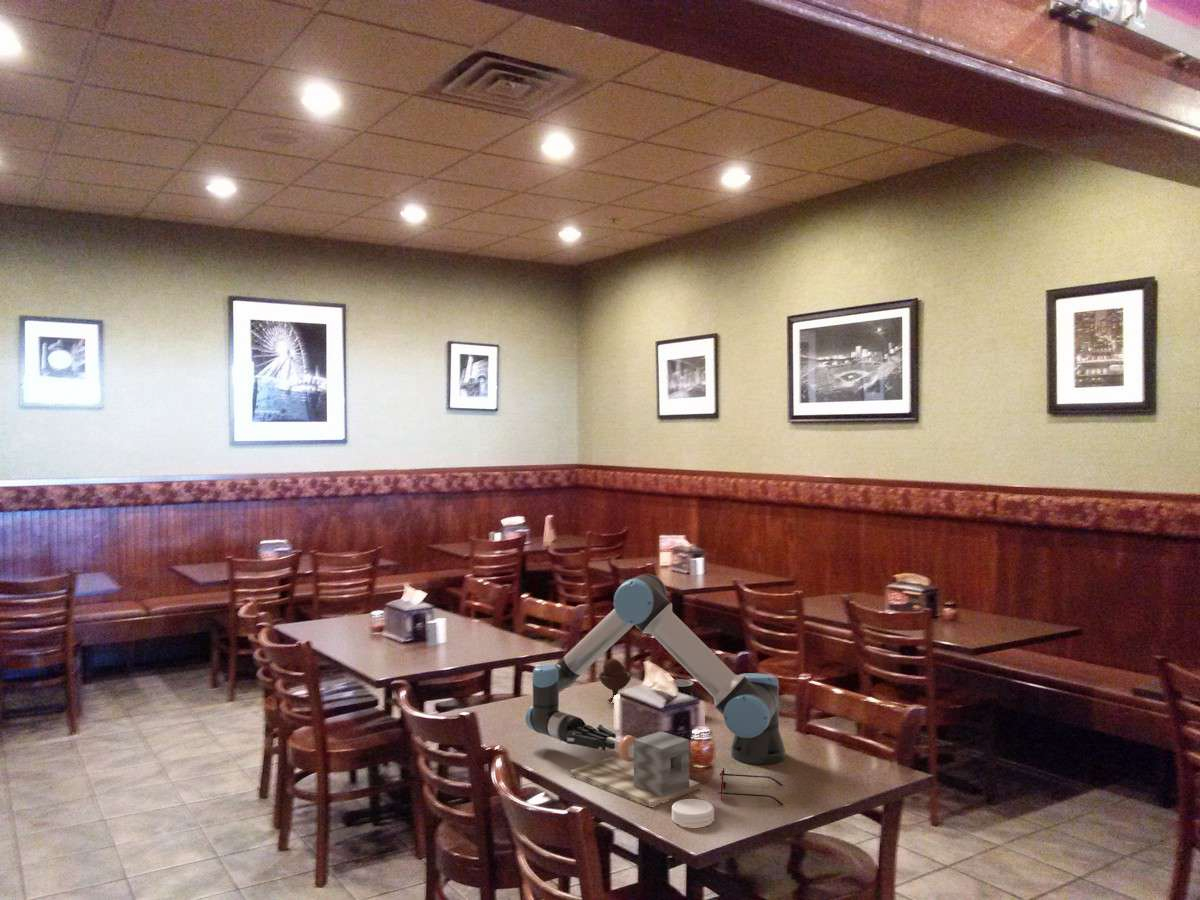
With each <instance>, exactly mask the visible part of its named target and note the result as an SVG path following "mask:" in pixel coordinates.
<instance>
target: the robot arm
mask: <svg viewBox="0 0 1200 900" xmlns="http://www.w3.org/2000/svg"><path fill="white" fill-rule="evenodd" d="M667 593H668V592H667V589H666V585H665V584H664V582H663V581H662V579H660V578H659V577H658V576H656V575H655V574H650V573H642V574H639V575H636V576H635V577H633V578H631V579H627V580H625V581H624V582H623V583H622V584H621V585H619V587H618V588H617V590H616V591H615V593H614V596H613V607H614V608H613V609H612V610H611V611H610V612H609V613H608V614H607V615H606V616H605V617H604V618H603V619H602V620H601V621H599V623H598V624H597V625H596V626H594V627H593V628H592V629H591V630H590V631H589V632H588V633H587V634H586V635H585V636H584V637H583V638H582V639H581V640H580V641H579V642H577V644H575V646H573V647H572V648H571V649H570V650H569V651H568V652H567V653H566V654H565V655H564V656H563V657H562V658H561V659H559V660H558V662H557V663H556V664H555V665H552V664H541V665H537V666H535V667H533V669H532V670H533V671H532V678H531V682H532V705H530V707H529V708H528V709H527V711H526V714H525V717H524V719H525V724H526V726H527V727H528V728H529V729H530V730H532V731H534V732H535V733H538V734H542V735H544V736H548V737H551V738H554V739H556V740H559V742H564V743H566V744H568V745H576V746H581V747H585V748H591V749H595V750H598V749H600V748H601V751H603V752H604V751H606V749H608V750H611V751H613V752H617V753H618V746H619V743H620V741H621V739H618V738H617V737H616V733H614V732H613V731H611V730H610V729H607V728H606V727H604V726H603V725H602V724H598V725H597V727H593V726H592V725H588V724H586V723H585V721H584V719H583V718H581V717H578V716H576V715H572V714H570V713H568V712H567V713H566V712H563V711H560V710H559V703H560V701H559V700H560V699H559V698H560V697H559V695H560V693H562V692H563V691H564V690H565V689H567V688H568V687H571V686H572V685H573V684H574V683H575V682H576V681H577V680H578V679H579V677H580V676H581V675H582V674H583V673H585V671H586V670H588V669H589V668H590V667H591V666H592V665H593V664H594V663H595V662H597V661H598V659H600V658H601V656H602V655H604V654H605V653H606V652H607V651H609V649H610V648H611V647H612V646H613V645H614V644H616V643H617V642H618V641H619V639H621V638H622V637H623V636H624V635H625V634H626V633H627V632H628V631H629V630H631V629H632V627H634V626H635V628H637V629H638V630H639V631H640V632H641V633H642V634H646V635H647V634H649V635H651V636H652V637H653V638H654V639H656V641H658V643H659V644H660V645H661V646H662V647H663V648H664V649H665V650H666V651H667V652H668V653H669V654H670V655H671V656H672V657H673V658H674V659H675V660H676V661H677V662H678V663H679V664H680V666H682V667H683V669H684V670H686V671H687V672H688V673H689V674H690V675H691V676H692V677H693V679H695V680H696V681H697V683H699V685H700V686H702V687H703V689H705V690H706V692H708V693H709V695H710V696H711V697H712V698H713V707H714V708H715V709H716V710H717V711H718V712H719V713H720V714H721V715H722V716H723V720H724V723H725V726H726V727H727V728H728V730H729V731H730V732H731V733H732V734H734V737H733V740H732V743H731V747H730V749H731V750H730V752H731V753H730V755H731V757H732V758H733V759H734V760H737V761H739V762H743V763H746V764H752V765H773V764H777V763H780V762H782V761H784V760H785V759H786V748H785V744H784V741H783V738H782V735H781V732H780V727H779V726H780V725H779V723H780V722H779V721H780V718H779V717H780V716H779V714H780V712H779V711H780V709H779V708H780V707H779V705H780V704H779V703H780V702H779V701H780V699H779V694H780V693H779V689H780V686H779V679H778V677H777V676H775V675H771V674H768V673H767V674H766V673H757V672H753V673H751V672H750V673H748V672H747V673H740V674H736V673H734V672H733V671H732V670H731V669H730V667H728V666H727V665H726V664H725V663H724V661H722V660H721V659H720V658H719V657H718V656H717V655H716V653H714V651H712V650H711V649H710V648H709V647H708V646H707V645H706V644H705V643H704V642H703V640H701V639H700V638H699V637H698V636H697V635H696V634H695V633H694V632H693V631H692V630H691V629H690V628H689V627H688V625H686V624H685V623H684V622H683V621H682V620H681V619H680V618H679V617H678V616H677V615H676V614H675V613H674V612H673V603H672V602H671V601H670V600H669V599H668V598H667Z"/></svg>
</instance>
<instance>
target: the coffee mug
mask: <svg viewBox="0 0 1200 900" xmlns="http://www.w3.org/2000/svg"><path fill="white" fill-rule="evenodd" d="M673 680H674V681H675V683H676V685H677V687H678V689H679V692H681V693H685V694H688V695H691V696H692V697H693V692H694V691H693V690H694V681H692V680H688V679H673Z"/></svg>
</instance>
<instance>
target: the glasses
mask: <svg viewBox="0 0 1200 900" xmlns="http://www.w3.org/2000/svg"><path fill="white" fill-rule="evenodd" d="M719 776H720V780H721V781H720V791H717V793H716V794H718V795H720V801H722V800H723V795H730V796H733V795H734V796H744V797H745V796H749V797H765V798H770V799H772V800H774V801H775V802H776V803H778V804H779V805H780V804H781V805H780V806H782V805H785V804H784V803H782V802H781V801H780V800H779V799H777V798H776V797H774V796H771V795H769V794H754V793H753V794H752V793H750V794H749V793H737V792H723V790H726V785H727V783H726V782H725V781H724V779H725V778H724V776H725V777H726V776H727V777H728V776H729V777H749V778H762V779H763V778H765V779H770V780H772V781H774V782H775V783H776V784H778V785H779V786H780V785H783V783H781V782H780V781H778V780H776V779H775V778H774V777H771V776H766V775H764V776H763V775H751V774H738V773H737V774H733V773H725V767H723V769H722V770H721V771H720V773H719ZM722 786H723V787H722Z"/></svg>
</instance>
